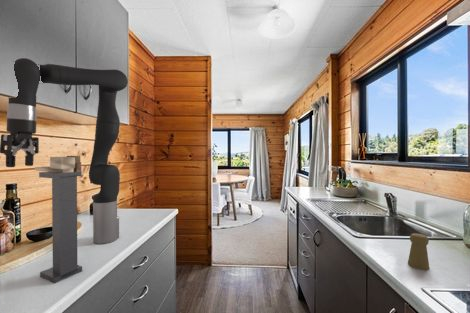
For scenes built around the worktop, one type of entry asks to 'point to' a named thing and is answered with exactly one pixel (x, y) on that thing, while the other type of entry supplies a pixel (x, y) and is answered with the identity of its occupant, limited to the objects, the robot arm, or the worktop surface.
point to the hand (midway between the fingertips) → (20, 166)
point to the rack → (63, 226)
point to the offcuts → (77, 163)
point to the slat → (59, 165)
